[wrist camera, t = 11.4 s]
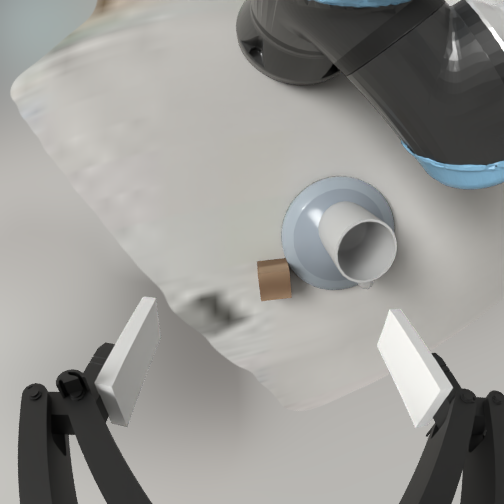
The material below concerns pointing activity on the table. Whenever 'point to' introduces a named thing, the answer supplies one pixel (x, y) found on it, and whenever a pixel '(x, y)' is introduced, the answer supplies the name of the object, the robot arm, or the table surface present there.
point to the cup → (357, 242)
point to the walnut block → (274, 279)
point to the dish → (307, 222)
